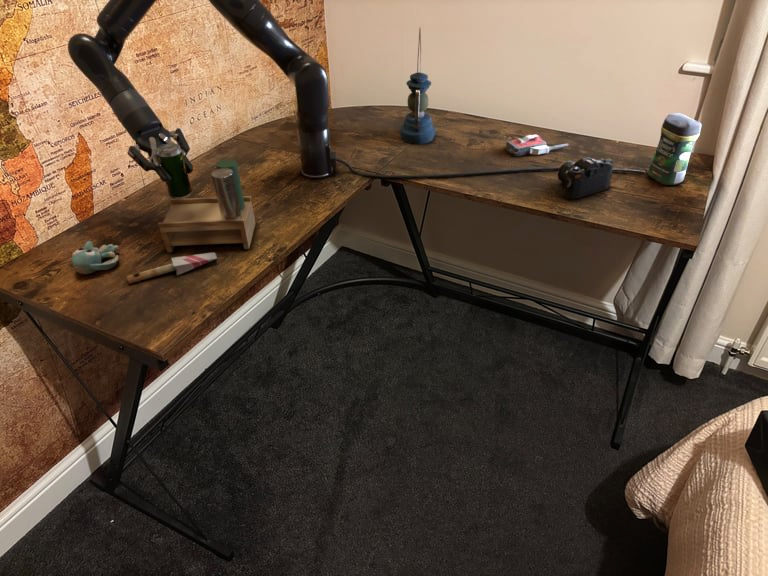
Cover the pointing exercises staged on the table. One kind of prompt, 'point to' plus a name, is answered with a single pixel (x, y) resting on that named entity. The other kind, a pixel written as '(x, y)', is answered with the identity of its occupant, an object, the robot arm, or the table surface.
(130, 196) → the table surface
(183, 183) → the beer can
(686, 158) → the coffee jar
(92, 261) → the stuffed animal
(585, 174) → the film camera
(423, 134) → the lantern
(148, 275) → the paintbrush
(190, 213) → the tray
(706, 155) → the table surface
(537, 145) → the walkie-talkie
